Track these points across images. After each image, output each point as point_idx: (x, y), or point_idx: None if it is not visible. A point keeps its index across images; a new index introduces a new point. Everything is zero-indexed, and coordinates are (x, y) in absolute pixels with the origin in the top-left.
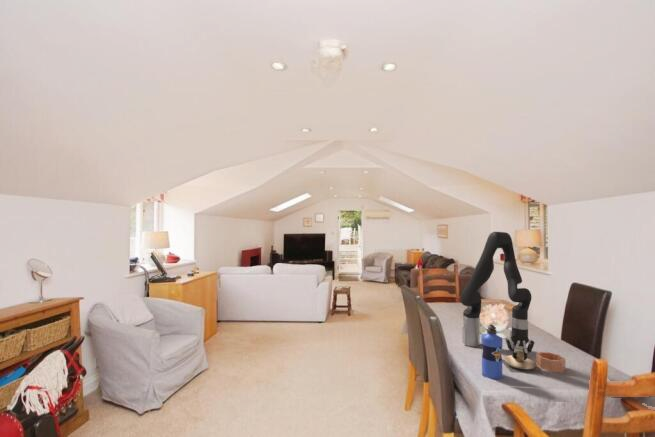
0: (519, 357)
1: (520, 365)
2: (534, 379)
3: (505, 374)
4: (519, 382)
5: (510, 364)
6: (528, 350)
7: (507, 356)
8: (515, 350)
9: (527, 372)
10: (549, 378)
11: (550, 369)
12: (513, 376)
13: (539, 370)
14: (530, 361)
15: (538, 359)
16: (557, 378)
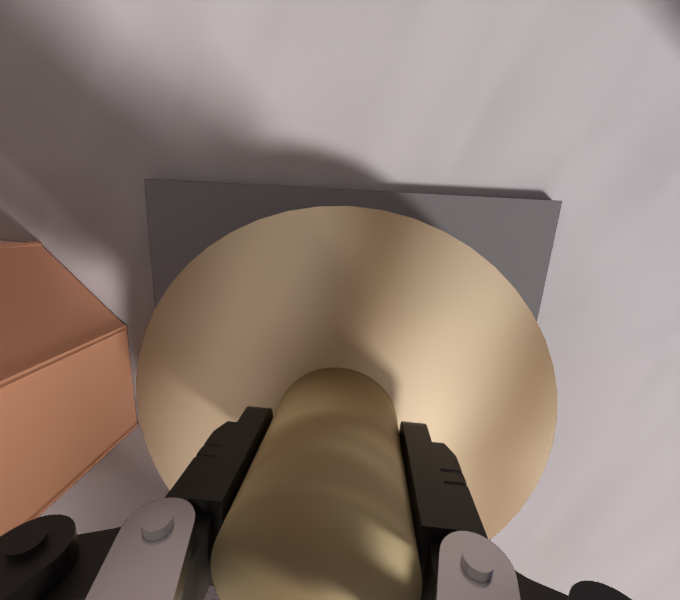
0: (364, 421)
1: (412, 256)
2: (329, 9)
3: (668, 143)
4: None
5: (531, 324)
6: (61, 578)
7: None
8: (474, 595)
9: (334, 198)
10: (115, 70)
11: (8, 255)
12: (586, 83)
13: (154, 271)
14: (184, 407)
15: (45, 432)
16: (18, 82)
